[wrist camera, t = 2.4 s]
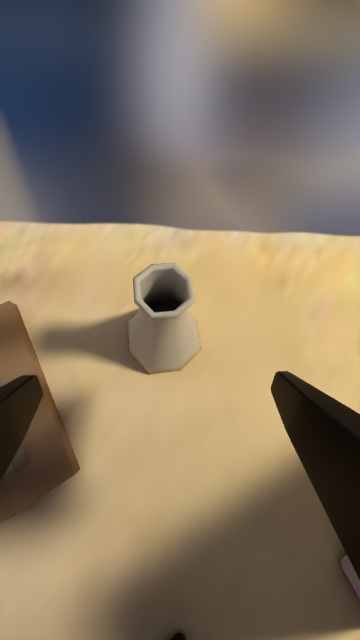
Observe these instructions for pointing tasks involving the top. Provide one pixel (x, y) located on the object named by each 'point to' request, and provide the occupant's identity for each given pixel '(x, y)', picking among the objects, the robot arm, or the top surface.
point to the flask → (163, 319)
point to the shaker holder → (44, 432)
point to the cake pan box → (351, 574)
